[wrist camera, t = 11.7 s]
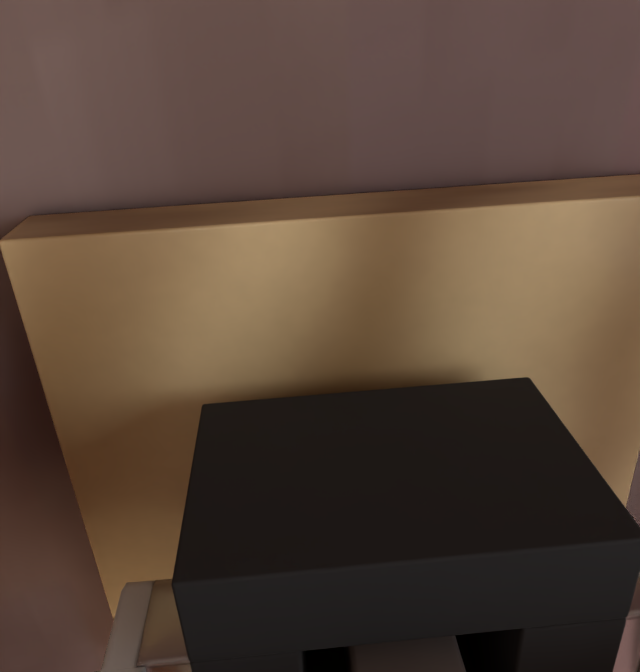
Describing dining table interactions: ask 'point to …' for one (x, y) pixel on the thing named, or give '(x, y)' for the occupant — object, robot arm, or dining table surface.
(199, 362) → the base board
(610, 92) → the dining table surface
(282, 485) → the black hollow square block
